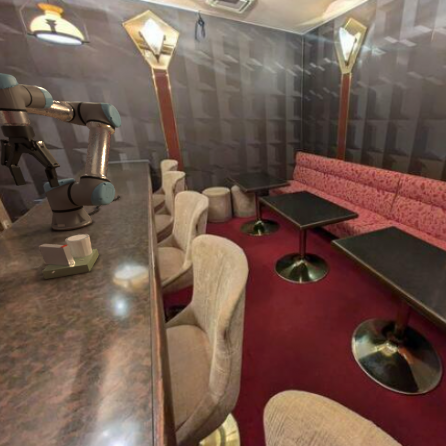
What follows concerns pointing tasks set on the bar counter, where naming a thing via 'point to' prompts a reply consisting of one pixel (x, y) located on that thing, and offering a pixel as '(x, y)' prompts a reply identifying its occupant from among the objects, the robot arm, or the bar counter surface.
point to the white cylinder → (79, 245)
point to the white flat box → (56, 254)
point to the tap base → (71, 266)
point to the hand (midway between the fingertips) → (38, 186)
